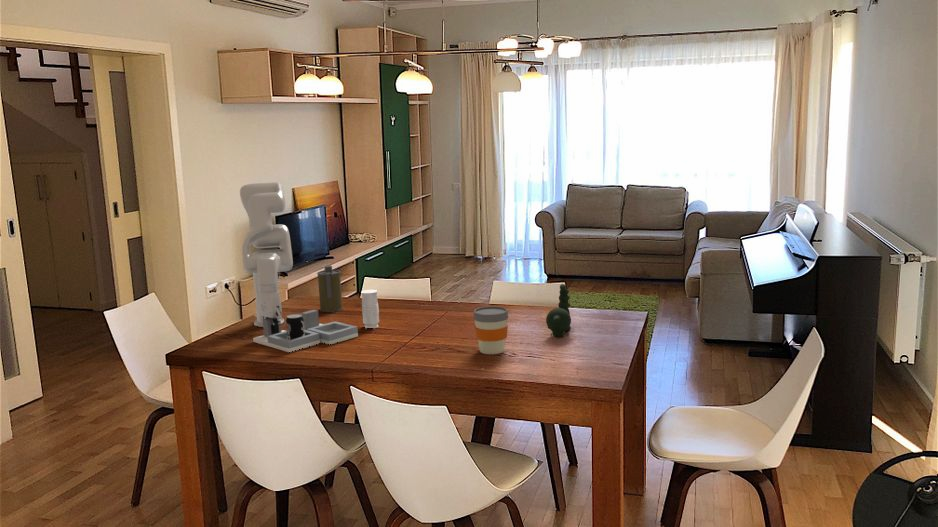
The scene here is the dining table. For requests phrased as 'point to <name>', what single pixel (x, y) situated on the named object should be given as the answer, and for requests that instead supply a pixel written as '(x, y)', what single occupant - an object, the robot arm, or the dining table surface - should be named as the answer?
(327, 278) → the canister
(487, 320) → the reusable coffee cup
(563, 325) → the toy figurine
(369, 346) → the dining table surface
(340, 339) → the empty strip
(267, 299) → the robot arm
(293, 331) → the beverage can
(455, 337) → the dining table surface
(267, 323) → the grey tray
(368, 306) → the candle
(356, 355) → the dining table surface
